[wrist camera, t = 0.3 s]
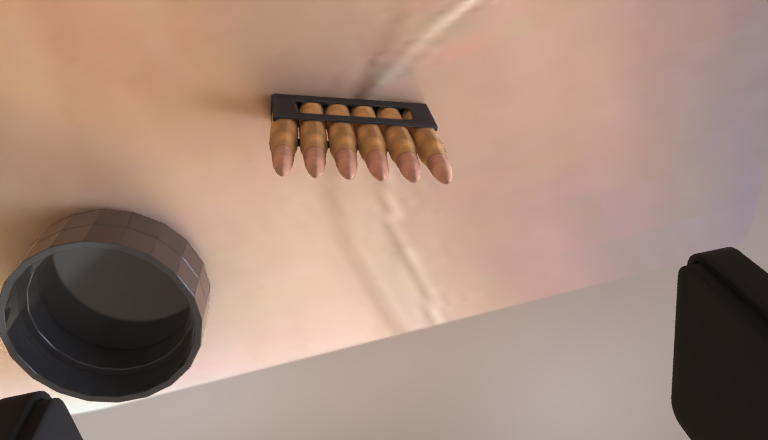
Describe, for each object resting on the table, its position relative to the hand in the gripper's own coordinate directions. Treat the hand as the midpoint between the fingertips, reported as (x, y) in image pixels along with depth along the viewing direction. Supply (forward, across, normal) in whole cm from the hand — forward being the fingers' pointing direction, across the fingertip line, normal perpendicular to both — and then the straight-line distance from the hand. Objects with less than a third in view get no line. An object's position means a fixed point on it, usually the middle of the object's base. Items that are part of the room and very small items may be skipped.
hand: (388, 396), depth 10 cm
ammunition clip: (+36, -1, +6) cm, 36 cm away
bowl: (+36, +18, +16) cm, 43 cm away
